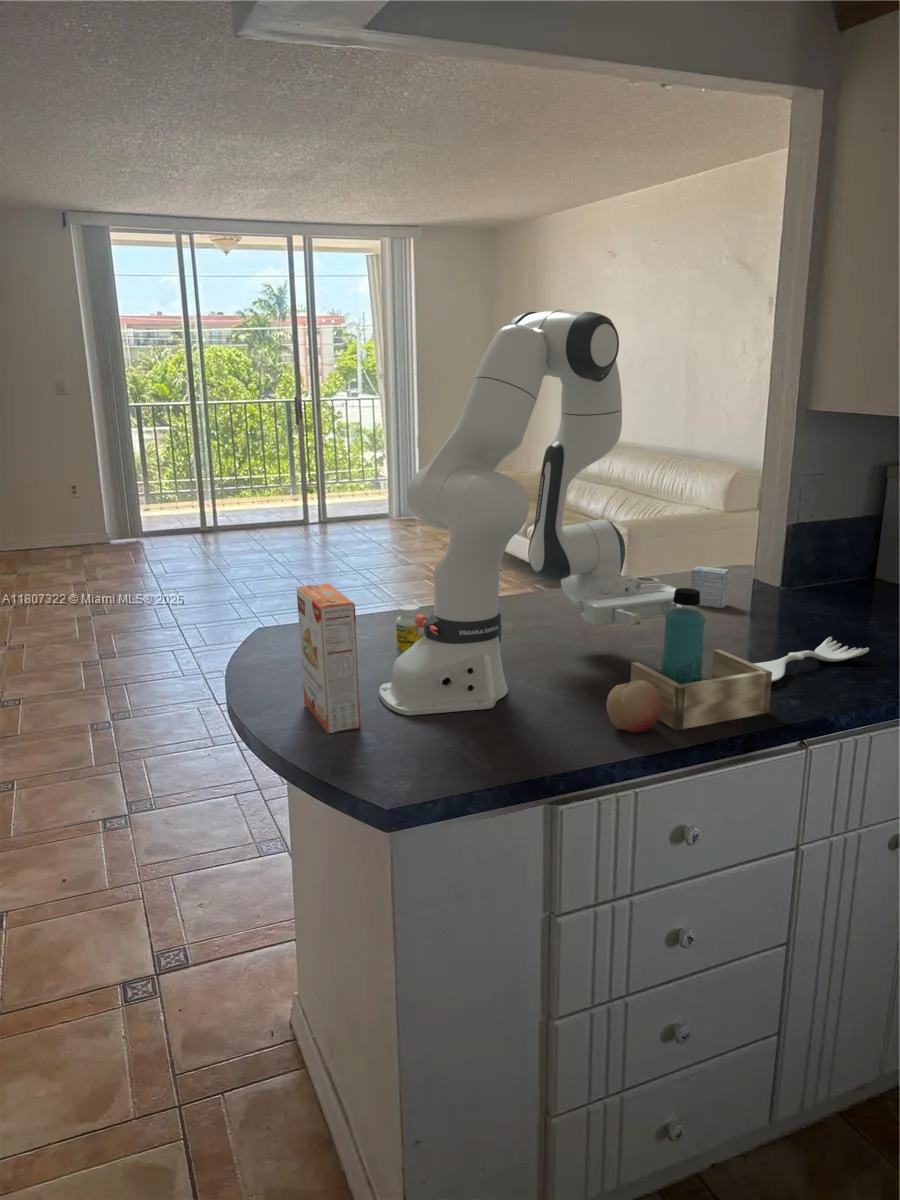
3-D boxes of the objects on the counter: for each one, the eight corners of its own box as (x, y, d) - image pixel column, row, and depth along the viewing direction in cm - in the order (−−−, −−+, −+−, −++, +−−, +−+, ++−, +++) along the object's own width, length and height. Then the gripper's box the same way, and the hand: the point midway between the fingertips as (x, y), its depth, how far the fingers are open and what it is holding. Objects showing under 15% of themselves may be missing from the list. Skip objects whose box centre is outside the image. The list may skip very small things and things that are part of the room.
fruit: (627, 715, 142) (629, 669, 140) (669, 730, 136) (672, 681, 134) (596, 729, 137) (597, 681, 135) (637, 744, 131) (640, 694, 129)
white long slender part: (869, 663, 166) (871, 646, 165) (751, 695, 151) (752, 676, 150) (828, 650, 174) (830, 634, 173) (711, 679, 159) (713, 661, 158)
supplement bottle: (428, 651, 176) (427, 605, 173) (417, 659, 171) (416, 611, 169) (404, 648, 178) (403, 602, 176) (392, 656, 173) (391, 609, 171)
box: (676, 730, 136) (678, 688, 134) (629, 702, 148) (631, 662, 146) (768, 712, 142) (772, 672, 141) (716, 687, 154) (719, 649, 152)
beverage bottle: (694, 717, 140) (705, 596, 135) (652, 710, 143) (662, 591, 138) (702, 704, 146) (713, 587, 140) (662, 697, 148) (671, 582, 143)
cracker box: (301, 705, 148) (294, 585, 143) (336, 700, 150) (330, 581, 145) (324, 736, 136) (318, 605, 130) (362, 729, 138) (356, 601, 133)
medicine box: (727, 604, 207) (730, 569, 205) (722, 609, 204) (724, 572, 202) (694, 600, 211) (696, 565, 209) (689, 604, 208) (691, 569, 206)
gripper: (568, 588, 160) (609, 606, 148) (663, 577, 167) (709, 593, 155) (568, 621, 162) (607, 642, 149) (661, 609, 169) (706, 627, 157)
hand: (660, 617), depth 152 cm, fingers open, 8 cm apart
